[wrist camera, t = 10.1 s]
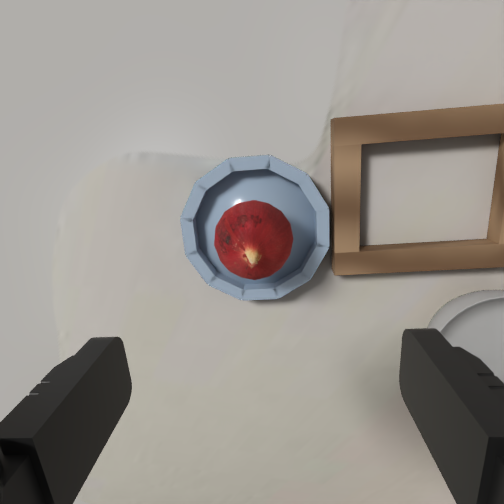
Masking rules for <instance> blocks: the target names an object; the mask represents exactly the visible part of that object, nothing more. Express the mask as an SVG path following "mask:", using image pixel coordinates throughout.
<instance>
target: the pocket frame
mask: <svg viewBox="0 0 504 504" xmlns="http://www.w3.org/2000/svg"><path fill="white" fill-rule="evenodd" d="M497 133H501V137H500V144H499V151H498V159H497V166H496V174H495V181H494V189H493V196H492V204H491V211H490V218H489V226H488V233H487V239H476V240H458V241H440V242H422V243H404V244H387V245H369V246H359V241H360V188H361V144H370V143H383V142H395V141H408V140H421V139H434V138H446V137H459V136H472V135H484V134H497ZM331 243H332V271H333V273H334V275H354V274H374V273H394V272H414V271H434V270H454V269H474V268H494V267H504V104H494V105H482V106H470V107H459V108H447V109H435V110H423V111H412V112H400V113H388V114H376V115H365V116H353V117H341V118H333V119H331Z"/></svg>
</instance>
